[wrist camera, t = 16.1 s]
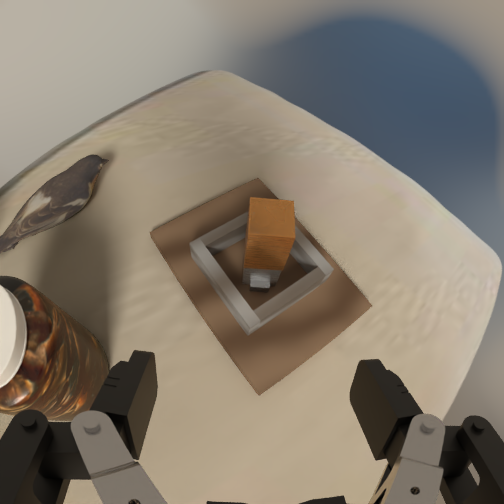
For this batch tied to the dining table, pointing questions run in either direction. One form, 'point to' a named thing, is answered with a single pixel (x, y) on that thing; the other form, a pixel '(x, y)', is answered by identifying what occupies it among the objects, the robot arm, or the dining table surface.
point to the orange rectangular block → (267, 241)
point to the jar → (45, 356)
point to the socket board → (258, 303)
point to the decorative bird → (54, 201)
